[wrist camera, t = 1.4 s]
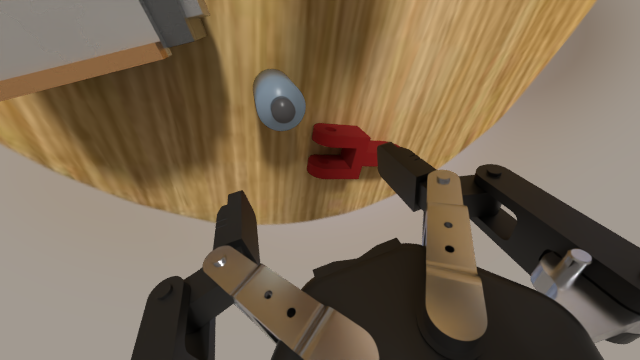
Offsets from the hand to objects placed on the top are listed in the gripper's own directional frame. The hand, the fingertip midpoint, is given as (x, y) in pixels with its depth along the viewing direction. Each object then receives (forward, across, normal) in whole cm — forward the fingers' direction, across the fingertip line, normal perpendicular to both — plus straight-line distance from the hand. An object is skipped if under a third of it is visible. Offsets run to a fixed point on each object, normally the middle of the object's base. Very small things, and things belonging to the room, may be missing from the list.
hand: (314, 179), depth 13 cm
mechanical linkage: (+22, -10, +12) cm, 28 cm away
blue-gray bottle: (+22, 0, 0) cm, 22 cm away
